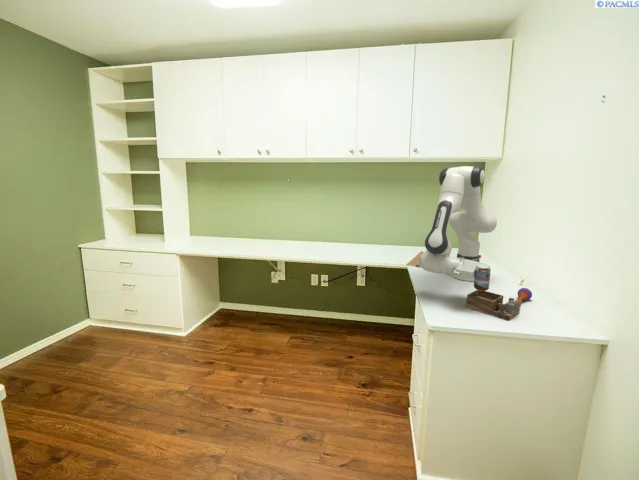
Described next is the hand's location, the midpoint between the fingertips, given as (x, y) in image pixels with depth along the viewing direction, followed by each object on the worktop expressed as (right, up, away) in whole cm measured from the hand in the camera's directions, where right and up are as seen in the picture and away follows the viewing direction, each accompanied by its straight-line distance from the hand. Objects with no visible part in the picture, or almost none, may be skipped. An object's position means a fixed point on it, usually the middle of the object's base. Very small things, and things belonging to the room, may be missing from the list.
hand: (488, 272), depth 141 cm
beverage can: (-2, -7, +2) cm, 8 cm away
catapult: (+2, -17, +1) cm, 17 cm away
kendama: (+21, -16, +10) cm, 28 cm away
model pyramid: (-6, -3, +76) cm, 77 cm away
